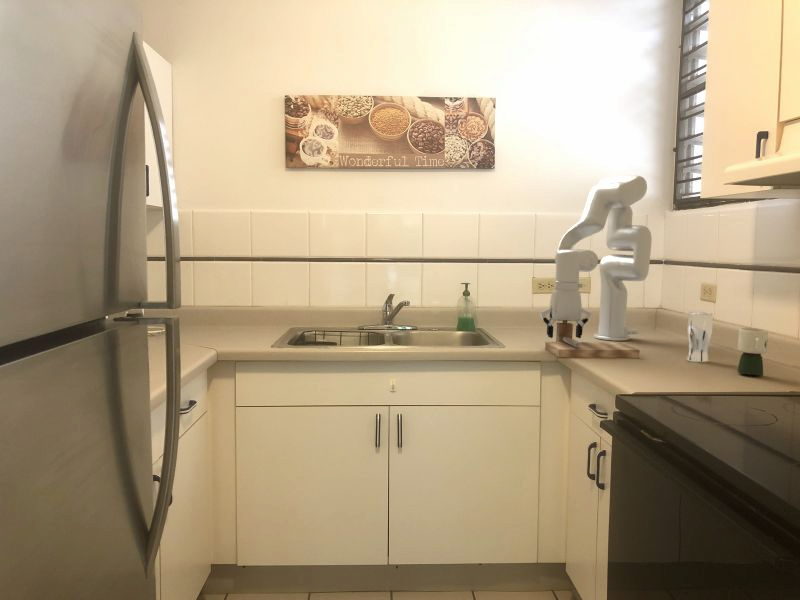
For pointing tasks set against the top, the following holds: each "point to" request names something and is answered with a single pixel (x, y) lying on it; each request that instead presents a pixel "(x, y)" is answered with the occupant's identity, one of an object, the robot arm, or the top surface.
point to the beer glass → (699, 336)
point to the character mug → (752, 350)
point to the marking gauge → (566, 334)
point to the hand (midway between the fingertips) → (564, 337)
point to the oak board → (592, 350)
